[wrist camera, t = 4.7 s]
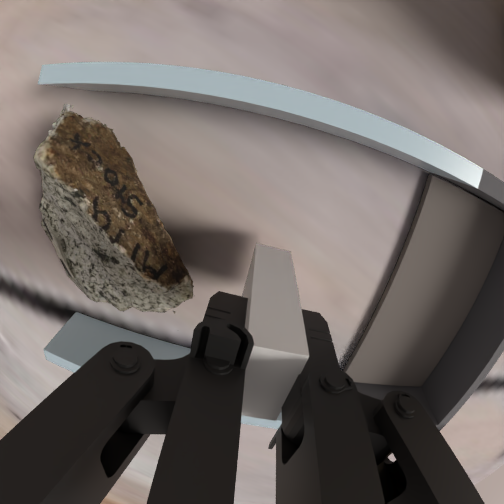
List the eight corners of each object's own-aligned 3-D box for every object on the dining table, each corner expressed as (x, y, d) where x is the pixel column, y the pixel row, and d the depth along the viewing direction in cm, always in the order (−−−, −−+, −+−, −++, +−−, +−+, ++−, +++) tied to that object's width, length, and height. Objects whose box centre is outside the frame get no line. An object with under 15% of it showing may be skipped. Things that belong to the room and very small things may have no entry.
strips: (77, 321, 17) (46, 359, 13) (92, 75, 11) (42, 65, 7) (334, 385, 17) (344, 434, 14) (433, 156, 12) (483, 169, 8)
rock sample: (-26, 238, 11) (-58, 266, 5) (53, 127, 13) (96, 65, 7) (106, 328, 17) (179, 395, 11) (164, 231, 20) (261, 246, 14)
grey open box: (334, 385, 17) (344, 434, 14) (433, 156, 12) (483, 169, 8) (421, 391, 18) (439, 431, 14) (518, 205, 12) (562, 227, 9)
